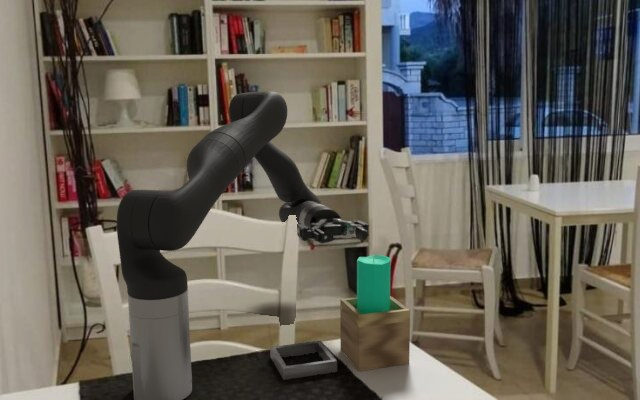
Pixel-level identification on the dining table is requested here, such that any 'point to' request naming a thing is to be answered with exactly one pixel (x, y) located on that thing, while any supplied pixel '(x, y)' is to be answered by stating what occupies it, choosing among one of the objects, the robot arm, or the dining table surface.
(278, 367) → the grey square tray
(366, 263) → the candle
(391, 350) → the wooden storage box
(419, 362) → the dining table surface
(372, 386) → the dining table surface
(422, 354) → the dining table surface
